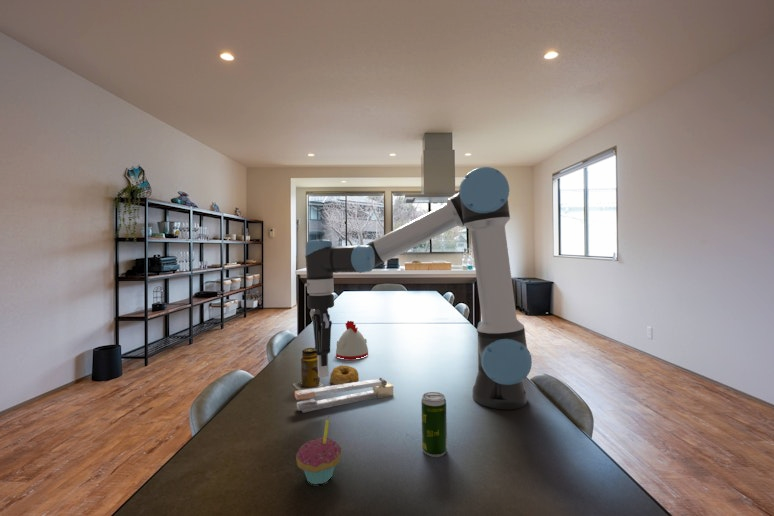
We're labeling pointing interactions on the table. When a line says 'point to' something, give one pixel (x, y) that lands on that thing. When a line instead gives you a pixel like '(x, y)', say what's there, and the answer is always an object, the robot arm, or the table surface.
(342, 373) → the bagel
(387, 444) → the table surface
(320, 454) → the cupcake
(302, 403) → the base
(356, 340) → the kitchen timer
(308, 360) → the condiment
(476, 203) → the robot arm
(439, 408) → the beer can
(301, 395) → the bar
